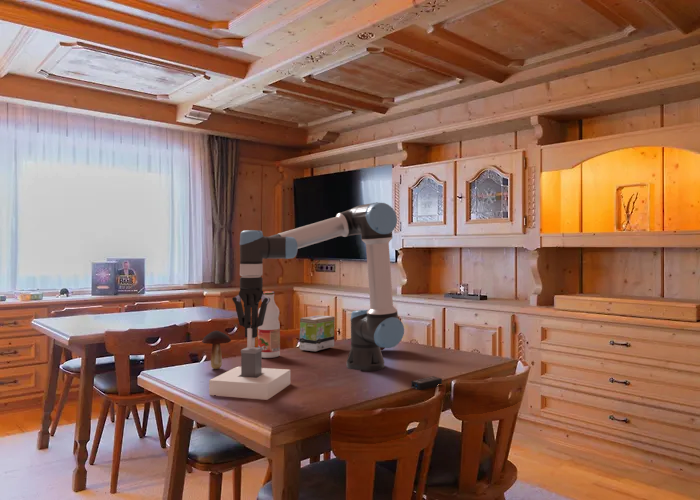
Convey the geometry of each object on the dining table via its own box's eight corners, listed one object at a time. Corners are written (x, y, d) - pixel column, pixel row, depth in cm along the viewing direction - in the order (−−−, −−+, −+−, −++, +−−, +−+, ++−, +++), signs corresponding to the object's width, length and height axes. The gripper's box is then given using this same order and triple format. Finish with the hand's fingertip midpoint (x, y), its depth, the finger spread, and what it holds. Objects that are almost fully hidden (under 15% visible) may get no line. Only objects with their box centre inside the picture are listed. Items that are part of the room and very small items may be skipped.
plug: (261, 377, 179) (261, 347, 179) (255, 381, 174) (255, 350, 174) (247, 376, 181) (247, 347, 181) (240, 380, 176) (240, 349, 176)
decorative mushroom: (205, 366, 212) (205, 328, 212) (233, 365, 213) (232, 328, 213) (199, 372, 202) (198, 333, 201) (228, 372, 202) (228, 332, 202)
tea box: (316, 352, 240) (316, 319, 240) (299, 349, 246) (299, 317, 246) (335, 346, 253) (335, 315, 253) (317, 344, 258) (317, 314, 258)
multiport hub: (442, 385, 185) (442, 378, 185) (420, 390, 178) (420, 383, 178) (433, 382, 188) (433, 376, 188) (410, 387, 181) (410, 380, 181)
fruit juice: (281, 357, 229) (281, 292, 228) (259, 358, 226) (258, 293, 226) (278, 353, 238) (278, 290, 237) (257, 354, 235) (257, 291, 235)
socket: (290, 384, 185) (290, 369, 185) (267, 400, 165) (267, 384, 165) (237, 380, 190) (237, 366, 190) (209, 395, 170) (209, 380, 170)
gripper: (273, 276, 179) (273, 346, 179) (238, 275, 182) (238, 344, 183) (264, 277, 172) (264, 350, 172) (228, 276, 175) (227, 348, 175)
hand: (251, 347), depth 177 cm, fingers closed
